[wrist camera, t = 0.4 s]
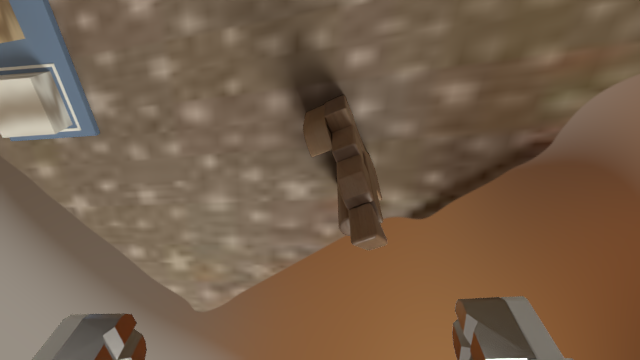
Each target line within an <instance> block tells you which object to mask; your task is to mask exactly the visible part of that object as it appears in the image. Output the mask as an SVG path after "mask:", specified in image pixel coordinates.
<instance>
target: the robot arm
mask: <svg viewBox="0 0 640 360" xmlns="http://www.w3.org/2000/svg"><path fill="white" fill-rule="evenodd" d="M455 312H456V315H457V317H458V319H457V320H456V321H455V322H454V323H453V331H452V335H453V345H454V349H455V354H456V357H457V360H573V359H571V358H564V357H563V355H562V354H561V352H560V351H559V349H558V347H557V346H556V344H555V343H554V341H553V339H552V338H551V336H550V335H549V333H548V331H547V330H546V328H545V327H544V325H543V323H542V322H541V320H540V319H539V317H538V315H537V314H536V312H535V311H534V309H533V308H532V306H531V304H530V303H529V301H528V300H527V299H526V298H525V297H523V296H522V297H521V296H520V297H502V298H499V297H494V298H475V299H458V300H457V302H456V307H455ZM136 324H137V322H136V321H135V319H134V317H133V315H132V314H84V315H70V316H68V317H67V318H65V319H64V320H63V321H62V322H61V323H60V325H59V326H58V327H57V329H56V330H55V331H54V332H53V334H52V335H51V336H50V337H49V339H48V340H47V341H46V342H45V344H44V345H43V346H42V347H41V349H40V350H39V351H38V352H37V354H36V355H35V356H34V358H33V359H32V360H145V356H146V351H147V349H146V341H145V339H144V337H143V335H142V334H140V333H139V332H138V331H136V330H135V329H134V328H135V326H136Z"/></svg>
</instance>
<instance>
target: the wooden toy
mask: <svg viewBox="0 0 640 360" xmlns="http://www.w3.org/2000/svg"><path fill="white" fill-rule="evenodd" d="M303 132H304V137H305V140H306V144H307V147H308V149H309V152H310V155H311V157H314V156H317V155H319V154H322V153H325V152H327V151H330V150H332V154H333V156H334V159H335V161H336V163H337V190H338V219H339V229H340V231H341V232H342V233H343V234H345V235H347V236H351V243H352V244H353V245H355V246H358V247H361V248H363V249H366V250H372V249H375V248H378V247H381V246H385V245H386V244H387V239H386V236H385V234H384V232H383V229H382V227H381V225H380V223H382V222H383V217H382V213H381V208H380V204H379V201H380V200H382V196H381V192H380V187H379V183H378V179H377V175H376V171H375V168H374V166H373V163H372V161H371V158H370V156H369V153H367V152H366V150H365V147H364V145H363V143H362V140H361V138H360V135H359V133H358V130H357V127H356V124H355V121H354V118H353V114H352V112H351V109H350V107H349V104H348V102H347V100H346V97H345V95H342V96H339V97H337V98H335V99H332V100H330V101H327V102H325V105H323V106H320V107H318V108H315V109H313V110H311V111H308V112H306V115H305V120H304V125H303Z"/></svg>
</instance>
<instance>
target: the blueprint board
mask: <svg viewBox="0 0 640 360" xmlns="http://www.w3.org/2000/svg"><path fill="white" fill-rule="evenodd" d="M9 2H10V5H11V7H12V9H13V12H14V14H15V16H16V18H17V21H18V23H19V25H20V27H21V30H22V32H23V34H24V37H25V39H21V40H15V41H10V42H5V43H0V75H9V74H22V73H34V72H47V71H50V72H51V74H52V77H53V79H54V81H55V84H56V86H57V89H58V91H59V93H60V96H61V98H62V100H63V103H64V105H65V107H66V110H67V112H68V114H69V117H70V119H71V121H72V124H73V125H71V126H69V127H67V128H66V129H64V130H62V131H60V132H58V133H57V134H50V135H35V136H21V137H9V138H10V140H11V141H21V140H36V139H51V138H65V137H80V136H95V135H98V134H99V133H100V132H99V129H98V126H97V124H96V121H95V119H94V116H93V114H92V111H91V109H90V106H89V104H88V101H87V98H86V96H85V93H84V91H83V88H82V86H81V83H80V81H79V78H78V76H77V73H76V71H75V68H74V65H73V63H72V60H71V58H70V55H69V53H68V50H67V48H66V45H65V43H64V40H63V37H62V35H61V32H60V30H59V27H58V25H57V22H56V20H55V17H54V15H53V12H52V10H51V7H50V4H49V2H48V0H9Z"/></svg>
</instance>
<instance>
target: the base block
mask: <svg viewBox="0 0 640 360" xmlns="http://www.w3.org/2000/svg"><path fill="white" fill-rule="evenodd" d="M71 125H73V124H72V121H71V119H70V117H69V114H68V112H67V110H66V107H65V105H64V103H63V100H62V98H61V96H60V93H59V91H58V89H57V86H56V84H55V81H54V79H53V77H52V74H51V72H50V71H47V72H34V73H22V74H9V75H0V133H1V135H2V137H3V138H6V137H21V136H35V135H50V134H57V133H58V132H60V131H62V130H64V129H66V128H67V127H69V126H71Z"/></svg>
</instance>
